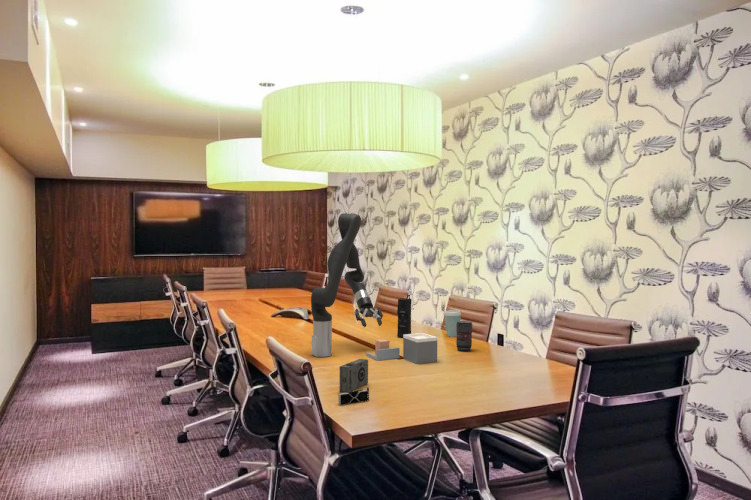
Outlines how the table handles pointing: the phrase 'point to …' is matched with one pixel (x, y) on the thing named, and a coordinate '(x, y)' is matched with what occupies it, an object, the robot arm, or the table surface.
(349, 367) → the camera
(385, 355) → the low dock
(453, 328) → the disposable coffee cup
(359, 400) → the graphics card
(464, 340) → the camera lens
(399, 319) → the portable radio
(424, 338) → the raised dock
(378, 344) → the plug block
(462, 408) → the table surface
